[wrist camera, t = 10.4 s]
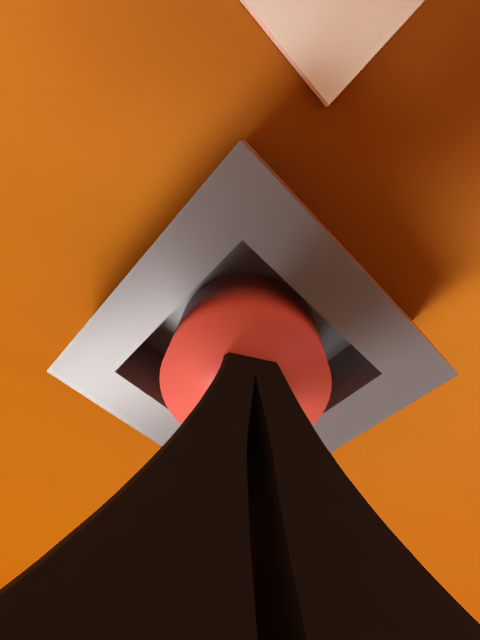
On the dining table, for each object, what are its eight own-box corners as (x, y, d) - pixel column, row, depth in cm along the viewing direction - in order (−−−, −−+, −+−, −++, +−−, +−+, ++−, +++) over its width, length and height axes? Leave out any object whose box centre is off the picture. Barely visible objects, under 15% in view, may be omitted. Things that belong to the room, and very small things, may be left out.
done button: (345, 338, 11) (367, 390, 9) (248, 412, 12) (246, 470, 10) (245, 242, 9) (241, 274, 7) (152, 338, 11) (125, 387, 9)
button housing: (413, 321, 12) (458, 374, 9) (250, 437, 15) (248, 503, 12) (245, 140, 9) (240, 139, 7) (92, 321, 12) (46, 371, 10)
